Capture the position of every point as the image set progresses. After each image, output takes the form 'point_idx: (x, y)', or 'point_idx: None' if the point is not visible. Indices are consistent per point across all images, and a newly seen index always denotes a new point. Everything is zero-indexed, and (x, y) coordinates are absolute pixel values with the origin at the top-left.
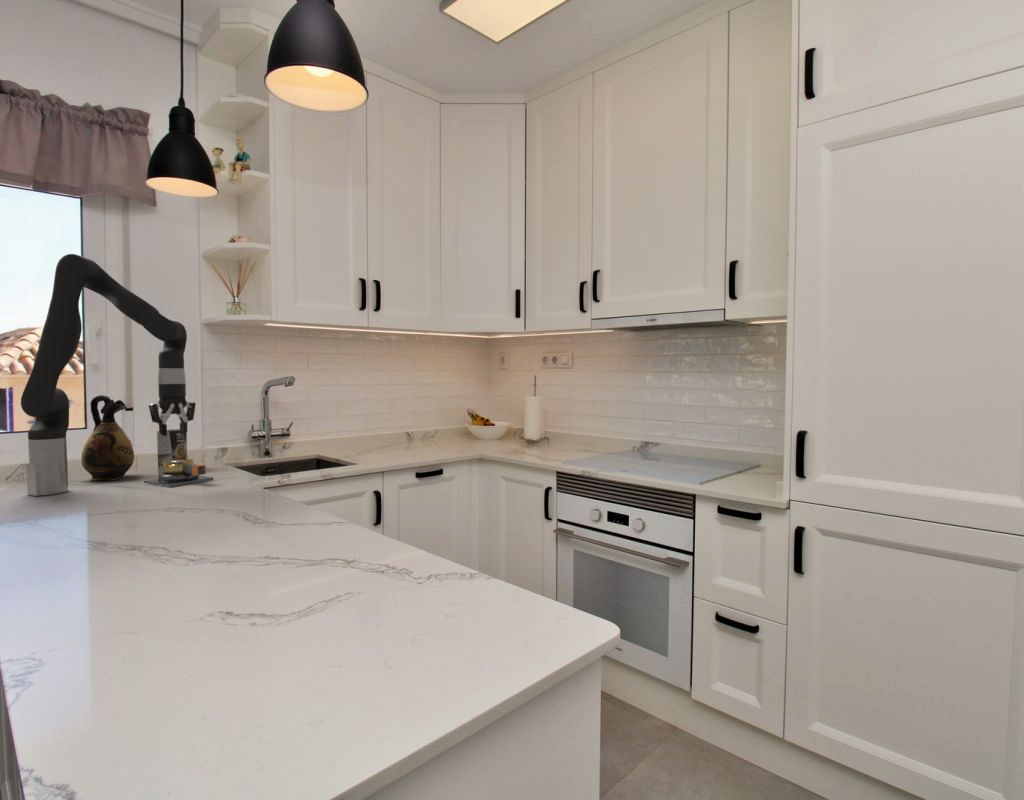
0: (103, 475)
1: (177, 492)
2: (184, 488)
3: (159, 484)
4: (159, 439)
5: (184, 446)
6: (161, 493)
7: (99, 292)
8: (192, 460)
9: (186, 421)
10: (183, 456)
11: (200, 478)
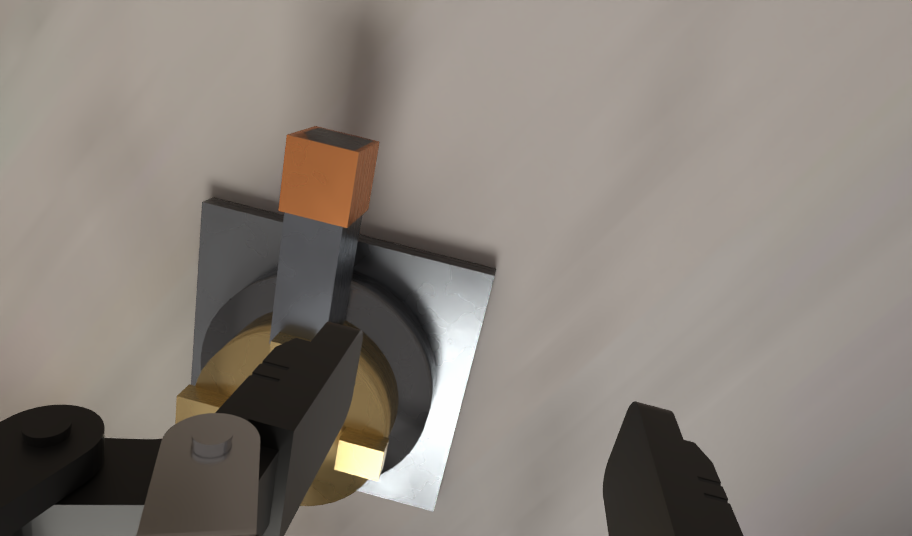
0: None
1: (627, 77)
2: (495, 150)
3: (469, 372)
4: None
5: None
6: (675, 161)
7: None
8: (187, 392)
9: (227, 422)
10: None
11: (266, 249)
